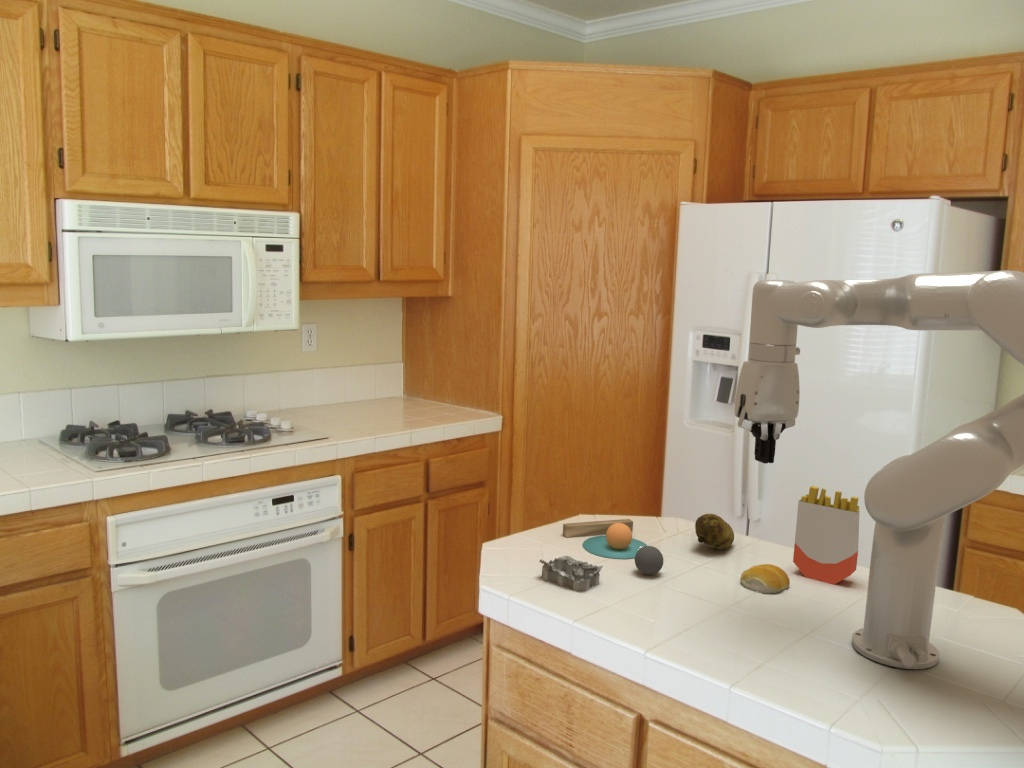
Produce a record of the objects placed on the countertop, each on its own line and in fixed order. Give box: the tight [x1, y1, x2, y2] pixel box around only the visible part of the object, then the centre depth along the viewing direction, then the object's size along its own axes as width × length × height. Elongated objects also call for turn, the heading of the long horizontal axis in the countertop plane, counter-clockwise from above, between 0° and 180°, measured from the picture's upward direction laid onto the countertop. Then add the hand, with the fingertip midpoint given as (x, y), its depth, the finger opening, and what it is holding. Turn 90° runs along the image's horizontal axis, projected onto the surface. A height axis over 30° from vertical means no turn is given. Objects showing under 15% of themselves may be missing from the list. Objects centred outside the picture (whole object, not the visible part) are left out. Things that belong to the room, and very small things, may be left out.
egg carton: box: [539, 555, 604, 592], centre depth 158 cm, size 11×8×4 cm
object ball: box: [606, 523, 633, 550], centre depth 176 cm, size 6×6×6 cm
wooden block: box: [562, 518, 634, 539], centre depth 185 cm, size 2×16×2 cm, turn 109°
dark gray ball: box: [634, 545, 664, 576], centre depth 162 cm, size 6×6×6 cm
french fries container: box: [792, 485, 860, 585], centre depth 163 cm, size 5×11×18 cm, turn 53°
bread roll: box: [740, 563, 791, 594], centre depth 159 cm, size 8×9×4 cm
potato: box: [694, 513, 735, 550], centre depth 178 cm, size 8×13×8 cm, turn 130°
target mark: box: [582, 535, 648, 560], centre depth 177 cm, size 14×14×1 cm
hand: (764, 461), depth 143 cm, fingers closed
